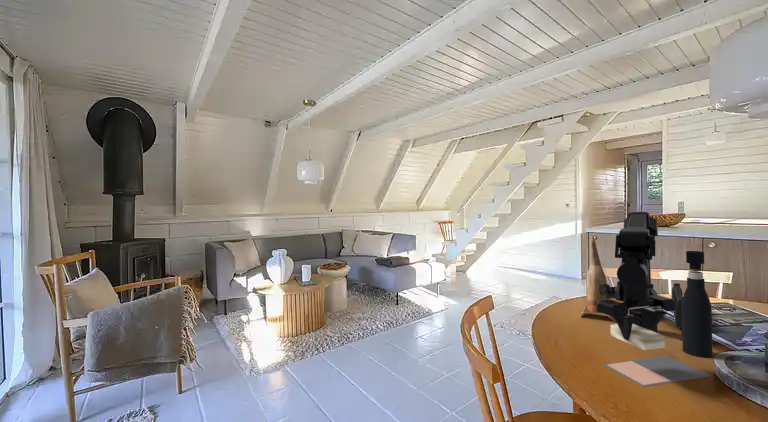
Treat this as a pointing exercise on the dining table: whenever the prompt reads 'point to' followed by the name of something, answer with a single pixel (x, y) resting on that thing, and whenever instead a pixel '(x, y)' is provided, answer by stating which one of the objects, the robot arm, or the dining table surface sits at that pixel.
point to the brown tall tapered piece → (594, 283)
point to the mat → (655, 371)
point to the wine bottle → (696, 311)
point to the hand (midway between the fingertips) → (636, 338)
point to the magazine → (677, 304)
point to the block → (640, 337)
